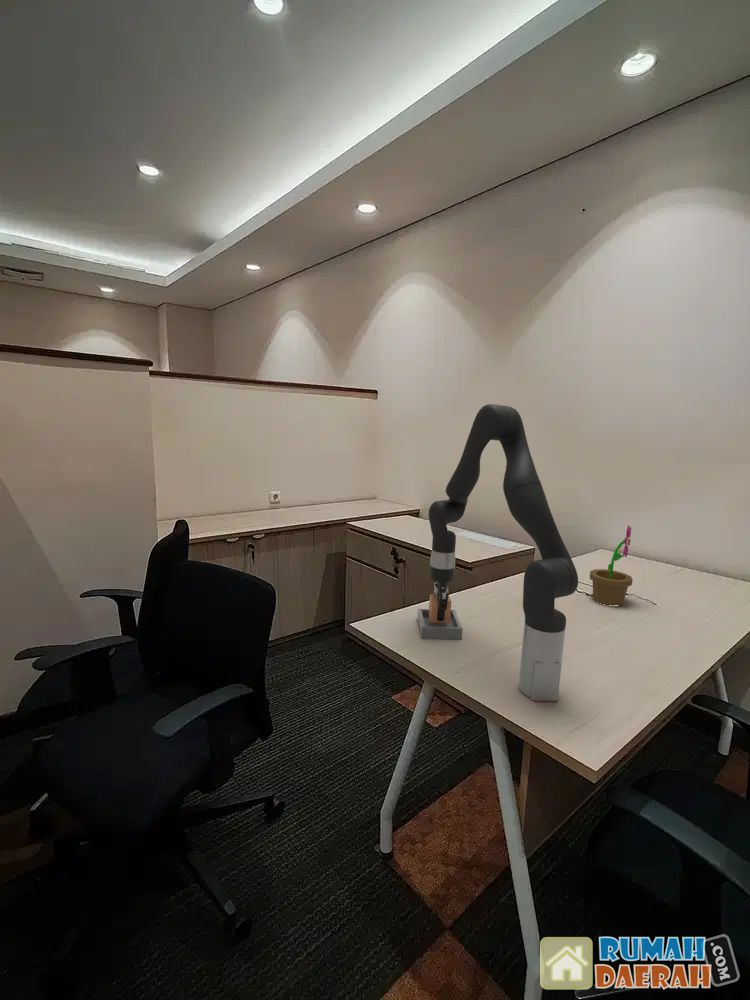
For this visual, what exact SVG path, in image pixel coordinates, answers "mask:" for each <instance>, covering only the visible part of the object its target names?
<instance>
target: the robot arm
mask: <svg viewBox="0 0 750 1000" xmlns="http://www.w3.org/2000/svg"><path fill="white" fill-rule="evenodd" d="M490 441H499V443H500V445H501V447H502V450H503V453H504V455H505V459H506V460H505V461H506V465H505V472H504V477H503V481H502V489H503V493H504V497H505V500H506V503H507V506H508V509H509V512H510V514H511V515H512V517H513V518H514V520H515V521H516V522H517V523H518V524H519V526H520V527H521V528H522V530H524V531H525V532H526V533H527V534H528V535H529V537H530V538H531V539H532V540H533V541H534V544H535V545H536V546H537V549H538V551H539V553H540V556H541V559H539V560H533V561H531V562H530V563H529V564H528V565H527V566H526V568H525V571H524V575H523V589H522V590H523V591H522V609H523V613H524V623H523V624H524V625H523V626H524V627H523V635H522V644H521V645H522V647H521V656H520V666H519V667H520V668H519V676H518V677H519V678H518V690H519V691H520V692H521V693H522V694H523V695H524V696H526V697H528V698H529V699H530V700H531V701H536V702H537V701H538V702H539V701H541V702H558V700H559V692H560V683H561V673H562V672H561V671H562V663H563V653H564V646H565V644H564V643H565V636H566V628H567V627H566V626H567V618H566V616H565V614H564V613H563V612H561V611H560V610H558V609H556V608H555V600H556V599H560V598H562V597H568V596H571V595H573V594H574V593H575V592H576V591H577V589H578V586H579V576H578V575H579V574H578V572H577V568H576V566H575V563H574V561H573V560H572V556H571V555H570V553H569V551H568V549H567V547H566V545H565V542H564V541H563V539H562V536H561V534H560V531H559V530H558V526H557V525H556V524H557V523H556V522H555V519H554V516H553V514H552V512H551V509H550V507H549V503H548V500H547V497H546V493H545V490H544V487H543V484H542V482H541V480H540V478H539V475H538V472H537V469H536V466H535V462H534V460H533V457H532V454H531V452H530V447H529V444H528V440H527V436H526V431H525V427H524V423H523V418H522V417H521V414H520V413H519V411H518V410H517V409H516V408H514V407H512V406H509V405H502V404H501V405H500V404H493V403H489V404H485V405H483V406H482V407H481V408H480V409H479V411H477V413H476V416H475V418H474V419H473V423H472V425H471V428H470V431H469V434H468V437H467V440H466V442H465V445H464V449H463V452H462V454H461V457H460V460H459V462H458V464H457V466H456V468H455V470H454V472H453V474H452V476H451V477H450V479H449V481H448V483H447V485H446V487H445V494H446V495H447V497H448V499H444V500H443V499H442V500H436V501H434V502H432V503H431V504H430V506H429V508H428V519H429V525H430V530H431V534H432V545H431V553H430V563H429V578H430V580H432V581H433V583H434V585H433V589H434V590H433V595H434V596H436V601H437V602H438V604H437V620H438V621H444V618H445V610H447V603H448V596H449V597H450V594H449V586H448V583H451V582H453V581H454V579H455V571H456V570H455V569H456V543H457V542H456V541H457V538H456V537H457V536H456V533H455V532H454V531H451V530H448V525H447V524H451V523H453V524H454V523H457V522H458V521H459V520H461V519H462V517H463V516H464V514H465V511H466V507H467V504H468V500H469V496H470V495H471V494H472V492H473V490H474V488H475V486H476V485H477V483H478V481H479V479H480V474H481V459H482V454H483V452H484V450H485V448H486V446H487V445H488V444H489V443H490ZM438 597H439V598H438ZM441 604H444V605H441Z"/></svg>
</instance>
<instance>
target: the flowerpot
mask: <svg viewBox="0 0 750 1000" xmlns="http://www.w3.org/2000/svg"><path fill="white" fill-rule="evenodd" d="M631 534H632V526H630V525H629V524H628V525H627V529H626V537H624V539H623V540H622V541H620V542H619V544H618V545H617V547H616V548H614V551H613V554H612V557H611V560H610V563H609V564H607V569H606V568H605V569H604V568H599V569H597V568H596V569H592V570H590V571H589V580H591V581H592V601H593V600H594V602H595V601H596V602H595V603H597V602H598V603H597V604H599V603H601V604H600V605H602V604H605V605H612V606H613V605H622V604H623V605H624V602H625V600H626V599H625V598H626V595H627V592H628V588H629V587H631V586H632V585H633V578H632V576H631V575H628V574H626V573H625V572H621V571H617V570H614V567H615V566H614V564H615V562H617V561H619V560H620V559H622V557H625V558H627V556H628V553H629V546H630V545H631ZM623 544H624V546H623ZM622 546H623V550H622V554H621V553H620V552H618V551H619V549H620V548H621V547H622ZM605 605H604V606H605ZM623 605H622V606H623Z"/></svg>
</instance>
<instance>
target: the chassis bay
mask: <svg viewBox="0 0 750 1000" xmlns="http://www.w3.org/2000/svg"><path fill="white" fill-rule="evenodd" d="M457 614H458V613H457V612H456V610H455V609H451V615H450V623H431V622H430V619H429V608H417V622H419V623H418V627H420V628H419V632H421V633H420V637H421V639H423V638H431V639H430V640H457V641H458V640H462V641H463V627H462V624H461V622H460V620H459V617H458V615H457ZM433 638H434V639H433Z"/></svg>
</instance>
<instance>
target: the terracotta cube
mask: <svg viewBox="0 0 750 1000" xmlns="http://www.w3.org/2000/svg"><path fill="white" fill-rule="evenodd" d="M438 598H439V597H438ZM428 604H429V605H428V609H429V619H430V622H431V623H450V615H451V610H452V600H451V597H450V595H449V596H448V603H447V610H445V618H444V621H438V620H437V604H438V602H437V601H436V596H434V594H429V602H428ZM441 605H444V604H441Z"/></svg>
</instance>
